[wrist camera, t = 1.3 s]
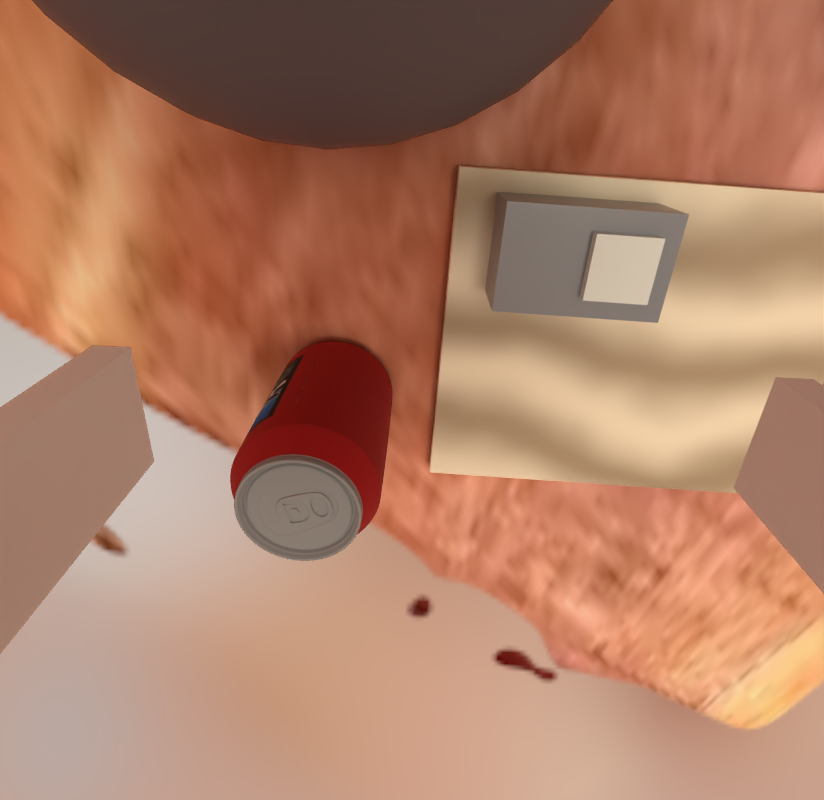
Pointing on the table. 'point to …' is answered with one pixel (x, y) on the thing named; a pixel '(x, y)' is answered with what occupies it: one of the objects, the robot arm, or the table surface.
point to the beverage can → (315, 454)
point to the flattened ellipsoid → (328, 59)
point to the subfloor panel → (631, 342)
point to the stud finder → (582, 256)
